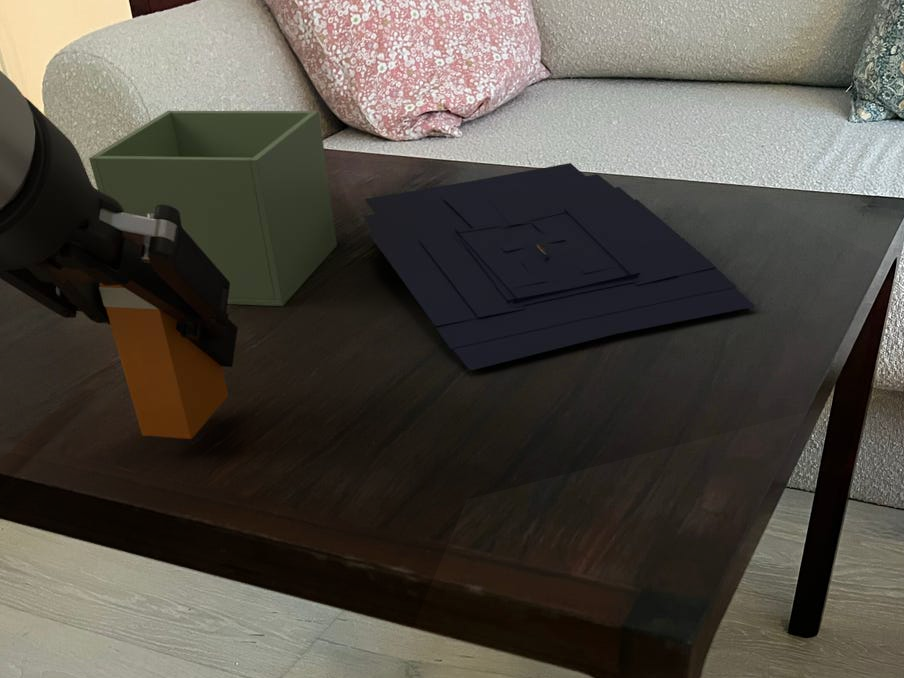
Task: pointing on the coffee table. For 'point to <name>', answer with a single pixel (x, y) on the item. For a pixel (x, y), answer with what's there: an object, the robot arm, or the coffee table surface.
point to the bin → (233, 192)
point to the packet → (162, 367)
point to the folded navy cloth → (542, 263)
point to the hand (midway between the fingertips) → (199, 345)
